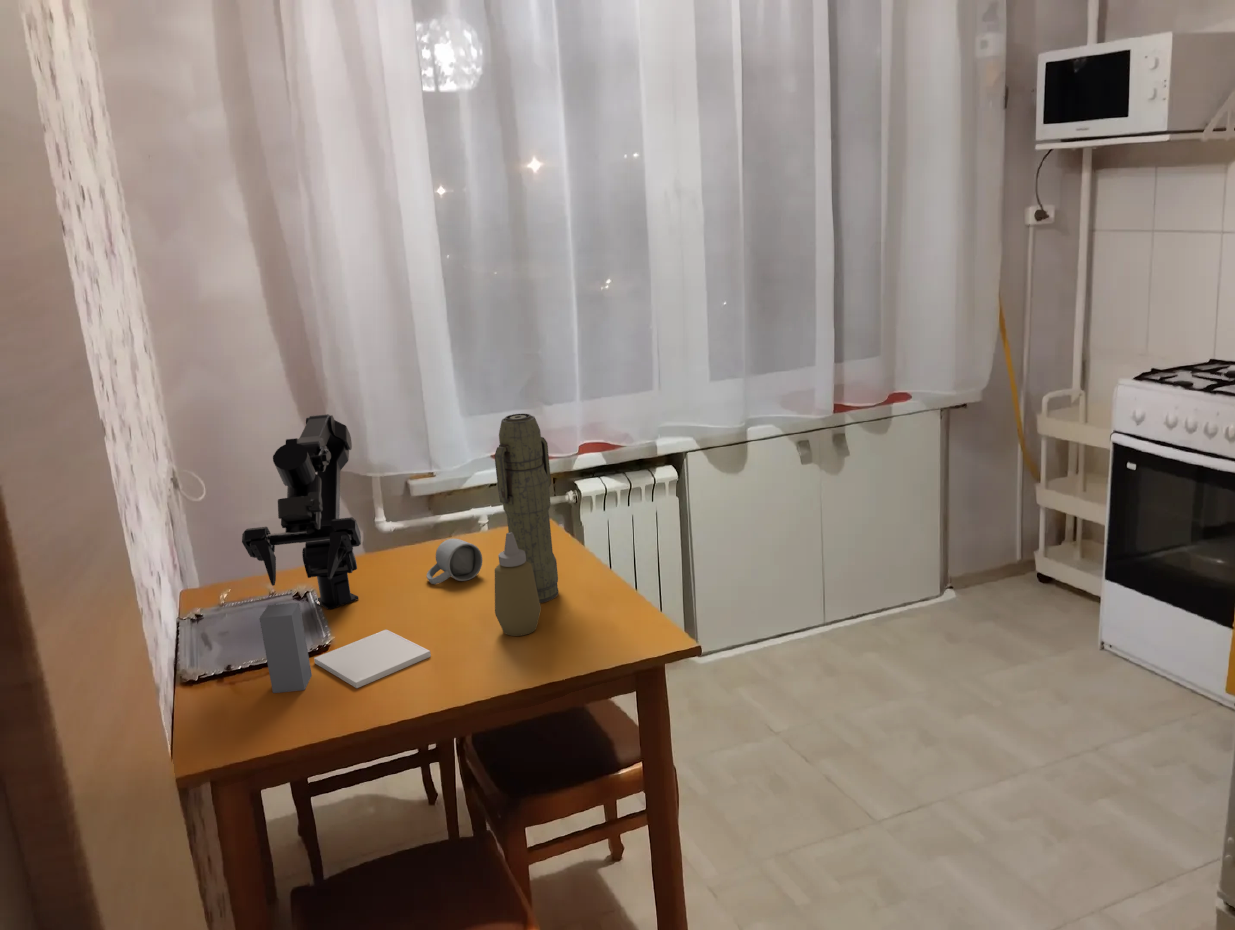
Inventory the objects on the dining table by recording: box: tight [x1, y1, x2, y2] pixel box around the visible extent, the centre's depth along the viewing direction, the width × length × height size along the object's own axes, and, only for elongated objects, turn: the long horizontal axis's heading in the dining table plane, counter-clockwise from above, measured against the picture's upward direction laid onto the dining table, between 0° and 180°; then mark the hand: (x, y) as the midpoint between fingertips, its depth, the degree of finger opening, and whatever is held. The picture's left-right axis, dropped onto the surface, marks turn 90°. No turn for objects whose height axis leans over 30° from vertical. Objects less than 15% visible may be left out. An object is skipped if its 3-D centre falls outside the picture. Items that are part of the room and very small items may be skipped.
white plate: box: [313, 629, 432, 689], centre depth 166 cm, size 14×14×1 cm
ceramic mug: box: [426, 538, 483, 585], centre depth 199 cm, size 11×8×8 cm
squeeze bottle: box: [494, 532, 542, 637], centre depth 171 cm, size 8×8×18 cm
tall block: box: [258, 602, 313, 694], centre depth 158 cm, size 5×5×13 cm
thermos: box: [494, 413, 559, 604], centre depth 183 cm, size 9×12×35 cm
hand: (301, 581), depth 163 cm, fingers open, 9 cm apart
